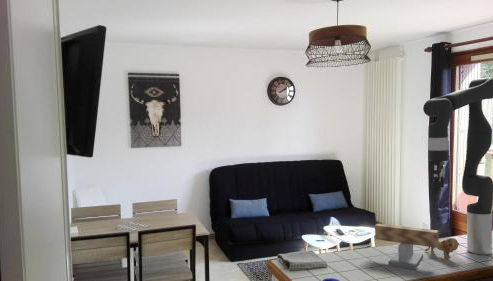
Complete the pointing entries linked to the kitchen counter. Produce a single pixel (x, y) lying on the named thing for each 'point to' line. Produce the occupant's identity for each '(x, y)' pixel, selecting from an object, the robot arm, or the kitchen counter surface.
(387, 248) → the kitchen counter surface
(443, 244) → the lion figurine
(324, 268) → the kitchen counter surface
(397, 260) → the ridge stand
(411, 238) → the walnut bar
